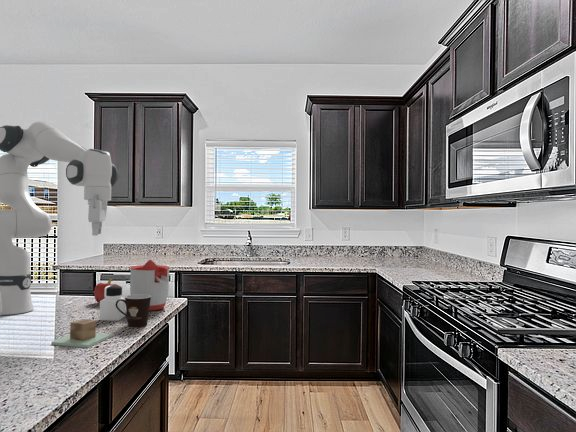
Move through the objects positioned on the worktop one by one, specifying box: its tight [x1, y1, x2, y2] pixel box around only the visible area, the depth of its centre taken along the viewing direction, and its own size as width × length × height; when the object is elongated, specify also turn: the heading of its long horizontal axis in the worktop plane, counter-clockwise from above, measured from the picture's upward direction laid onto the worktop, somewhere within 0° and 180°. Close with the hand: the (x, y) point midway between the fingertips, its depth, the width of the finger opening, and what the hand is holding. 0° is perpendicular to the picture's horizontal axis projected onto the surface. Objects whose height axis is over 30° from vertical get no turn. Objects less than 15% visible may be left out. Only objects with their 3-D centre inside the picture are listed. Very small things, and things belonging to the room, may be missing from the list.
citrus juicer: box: [129, 259, 171, 312], centre depth 184 cm, size 16×17×20 cm
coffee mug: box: [116, 294, 151, 328], centre depth 158 cm, size 12×9×10 cm
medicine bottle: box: [99, 284, 126, 322], centre depth 166 cm, size 7×7×12 cm
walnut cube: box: [69, 318, 97, 341], centre depth 138 cm, size 5×5×5 cm
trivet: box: [51, 332, 112, 349], centre depth 138 cm, size 12×12×1 cm
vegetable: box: [93, 278, 120, 304], centre depth 193 cm, size 11×10×10 cm
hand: (96, 234), depth 159 cm, fingers open, 8 cm apart
